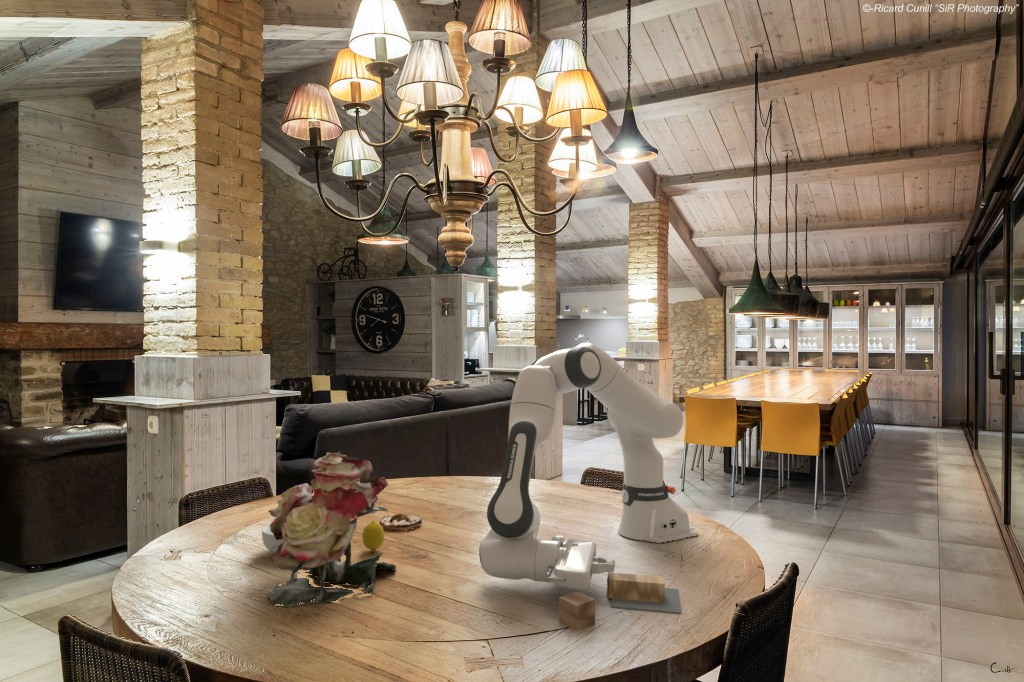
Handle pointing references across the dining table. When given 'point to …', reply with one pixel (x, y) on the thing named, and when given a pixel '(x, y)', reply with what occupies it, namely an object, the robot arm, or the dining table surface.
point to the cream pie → (400, 522)
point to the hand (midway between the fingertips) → (614, 566)
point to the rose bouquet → (325, 531)
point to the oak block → (636, 587)
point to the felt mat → (652, 603)
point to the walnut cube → (576, 610)
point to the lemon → (373, 536)
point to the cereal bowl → (270, 540)
